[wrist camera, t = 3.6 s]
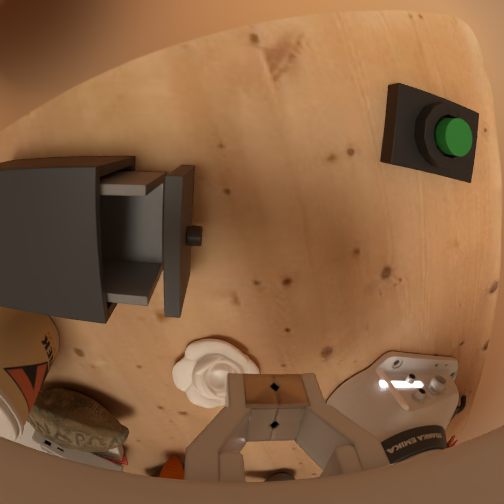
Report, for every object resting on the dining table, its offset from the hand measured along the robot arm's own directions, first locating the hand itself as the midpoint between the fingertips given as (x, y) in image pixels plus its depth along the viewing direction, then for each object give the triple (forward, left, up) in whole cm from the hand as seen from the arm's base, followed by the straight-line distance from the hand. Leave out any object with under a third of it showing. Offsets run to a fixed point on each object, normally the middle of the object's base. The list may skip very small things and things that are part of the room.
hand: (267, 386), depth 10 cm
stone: (+21, +31, -16) cm, 41 cm away
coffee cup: (+26, +15, -21) cm, 37 cm away
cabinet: (+17, 0, -21) cm, 27 cm away
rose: (+1, +18, -21) cm, 28 cm away
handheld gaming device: (+17, +41, -16) cm, 47 cm away
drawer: (+11, 0, -20) cm, 23 cm away
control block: (-19, -11, -21) cm, 30 cm away
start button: (-19, -11, -17) cm, 28 cm away
